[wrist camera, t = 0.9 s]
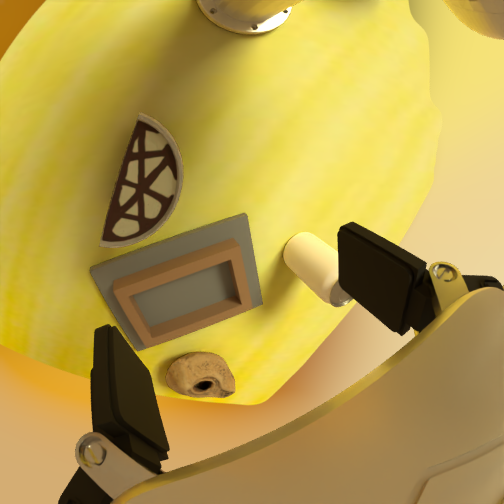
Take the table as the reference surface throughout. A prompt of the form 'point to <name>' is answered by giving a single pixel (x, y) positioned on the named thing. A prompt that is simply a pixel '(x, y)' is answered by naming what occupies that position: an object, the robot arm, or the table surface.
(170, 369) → the oil lamp
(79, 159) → the table surface
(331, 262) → the can
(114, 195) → the food container
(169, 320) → the tray
